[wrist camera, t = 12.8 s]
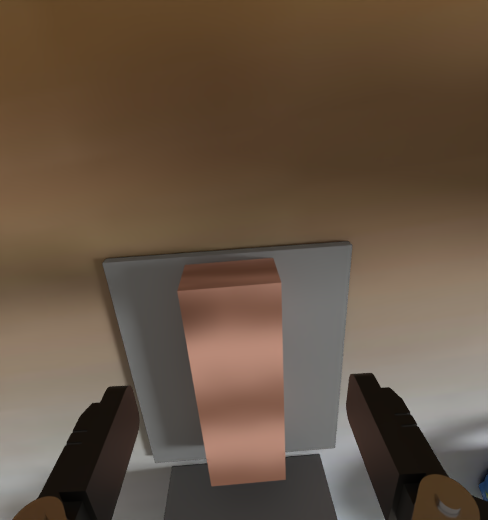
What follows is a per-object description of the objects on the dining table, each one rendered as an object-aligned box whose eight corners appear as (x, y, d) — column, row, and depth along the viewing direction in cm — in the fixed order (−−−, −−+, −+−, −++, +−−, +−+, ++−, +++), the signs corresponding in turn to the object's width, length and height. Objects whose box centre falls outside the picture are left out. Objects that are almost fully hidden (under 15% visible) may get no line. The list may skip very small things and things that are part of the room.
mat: (106, 258, 18) (102, 263, 18) (348, 241, 19) (352, 244, 18) (156, 455, 25) (155, 463, 25) (332, 440, 25) (335, 447, 25)
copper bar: (184, 264, 18) (177, 291, 15) (273, 257, 18) (281, 282, 15) (213, 444, 24) (211, 486, 21) (279, 438, 24) (285, 479, 21)
